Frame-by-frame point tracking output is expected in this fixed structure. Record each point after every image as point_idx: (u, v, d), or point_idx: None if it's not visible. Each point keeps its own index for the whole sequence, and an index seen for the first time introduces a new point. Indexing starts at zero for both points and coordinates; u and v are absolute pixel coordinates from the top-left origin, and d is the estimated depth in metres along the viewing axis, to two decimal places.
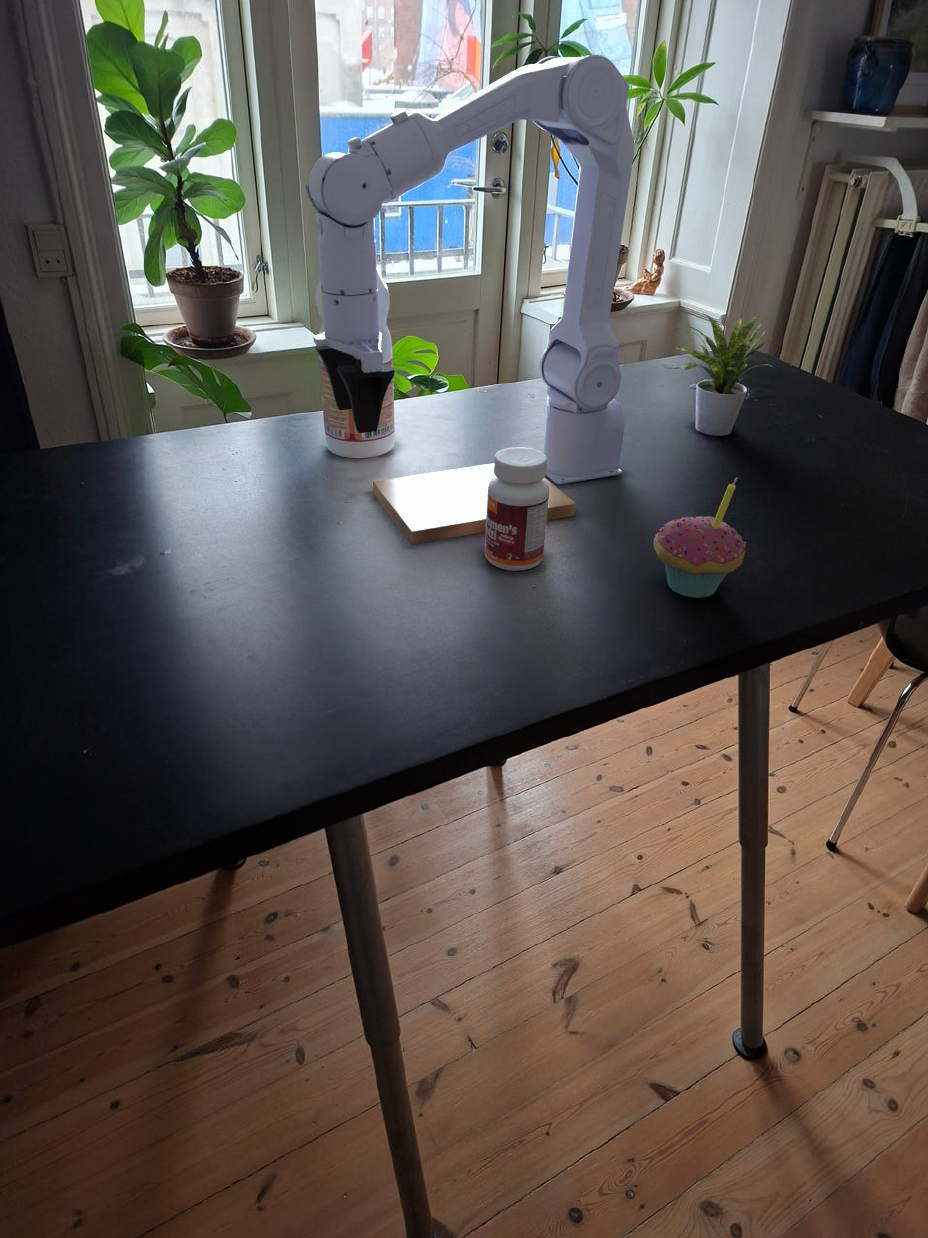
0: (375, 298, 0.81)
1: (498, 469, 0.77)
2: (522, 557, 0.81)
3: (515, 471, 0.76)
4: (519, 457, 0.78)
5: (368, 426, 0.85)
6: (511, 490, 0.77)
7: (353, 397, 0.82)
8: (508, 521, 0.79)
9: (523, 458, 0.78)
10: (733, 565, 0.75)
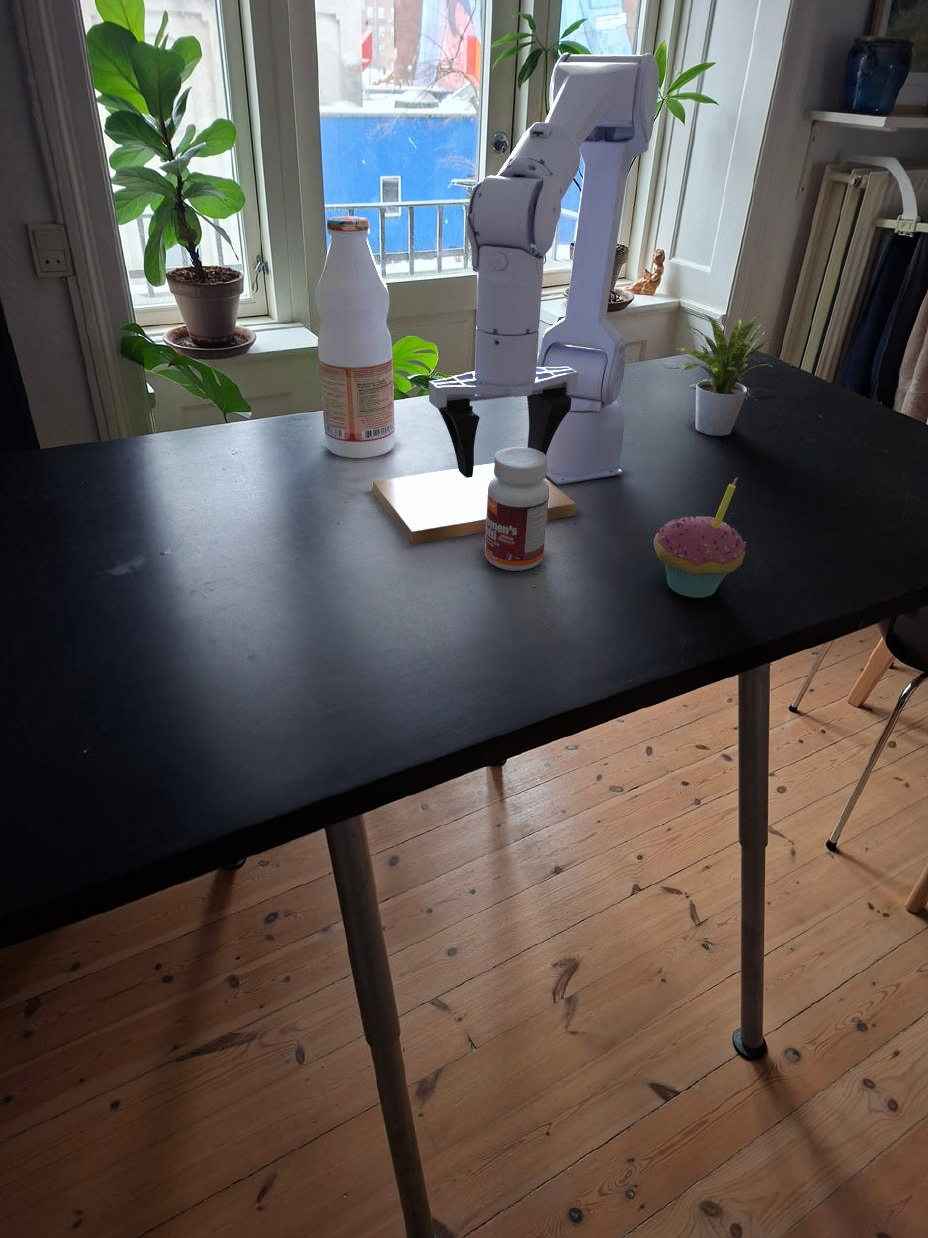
0: None
1: (498, 470, 0.77)
2: (522, 558, 0.81)
3: (516, 472, 0.76)
4: (519, 458, 0.77)
5: None
6: (511, 491, 0.77)
7: (557, 427, 0.78)
8: (508, 522, 0.79)
9: (524, 458, 0.77)
10: (733, 565, 0.75)
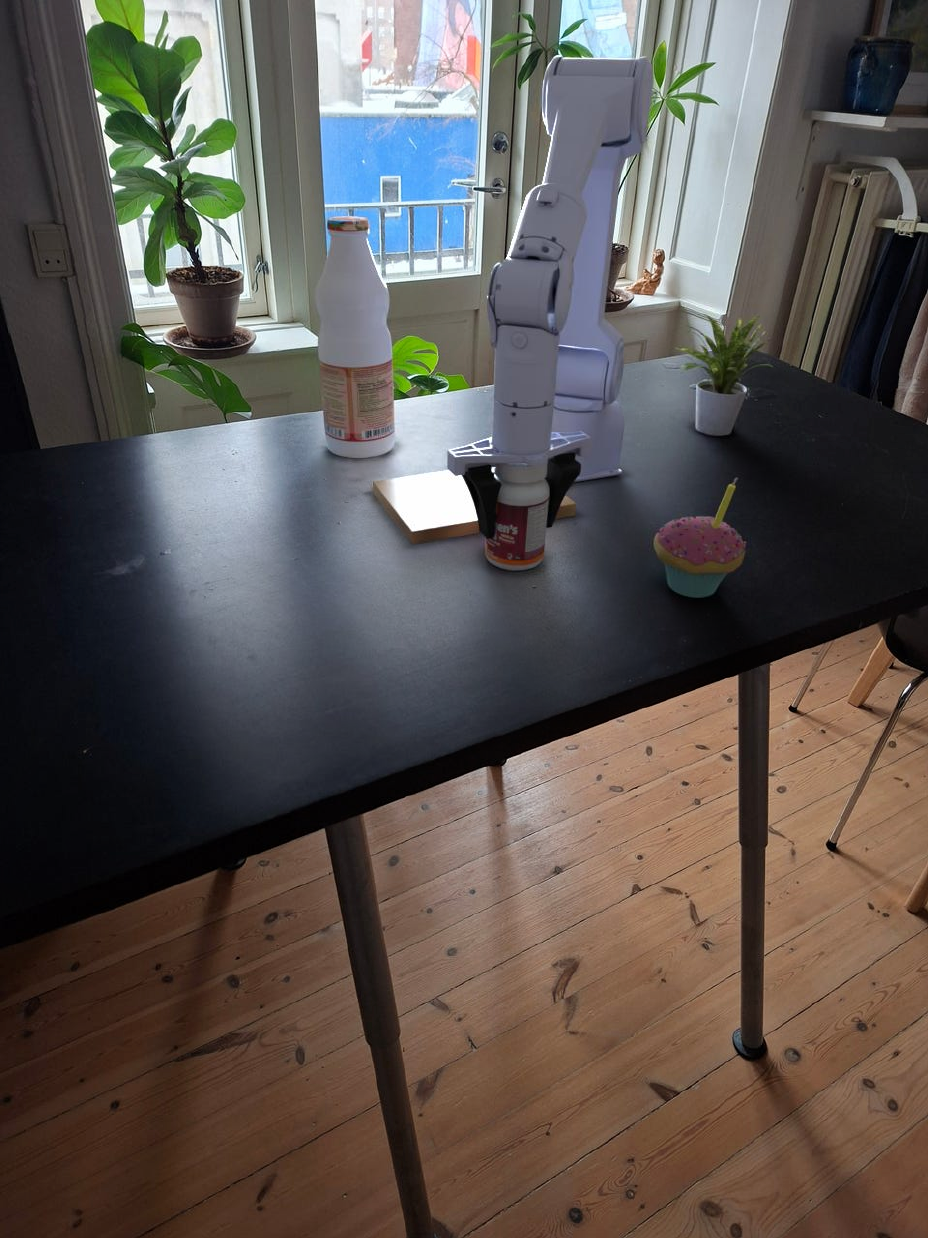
0: None
1: (499, 469, 0.77)
2: (522, 557, 0.81)
3: (516, 471, 0.76)
4: None
5: None
6: (512, 490, 0.77)
7: (567, 490, 0.80)
8: (508, 521, 0.79)
9: None
10: (733, 565, 0.75)
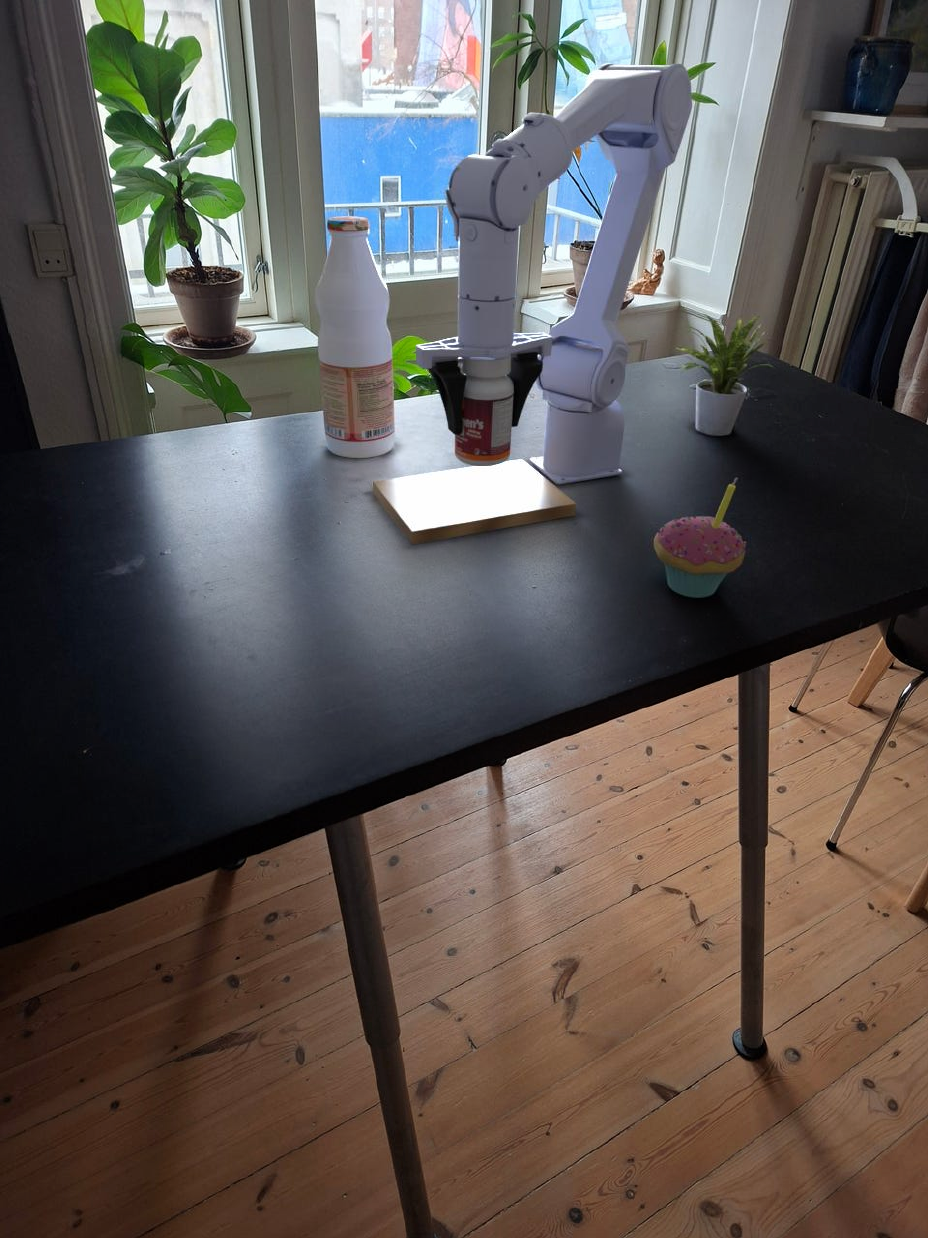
0: None
1: (465, 365, 0.82)
2: (489, 452, 0.86)
3: (481, 365, 0.81)
4: None
5: None
6: (477, 385, 0.82)
7: (530, 388, 0.85)
8: (474, 416, 0.83)
9: None
10: (733, 565, 0.75)
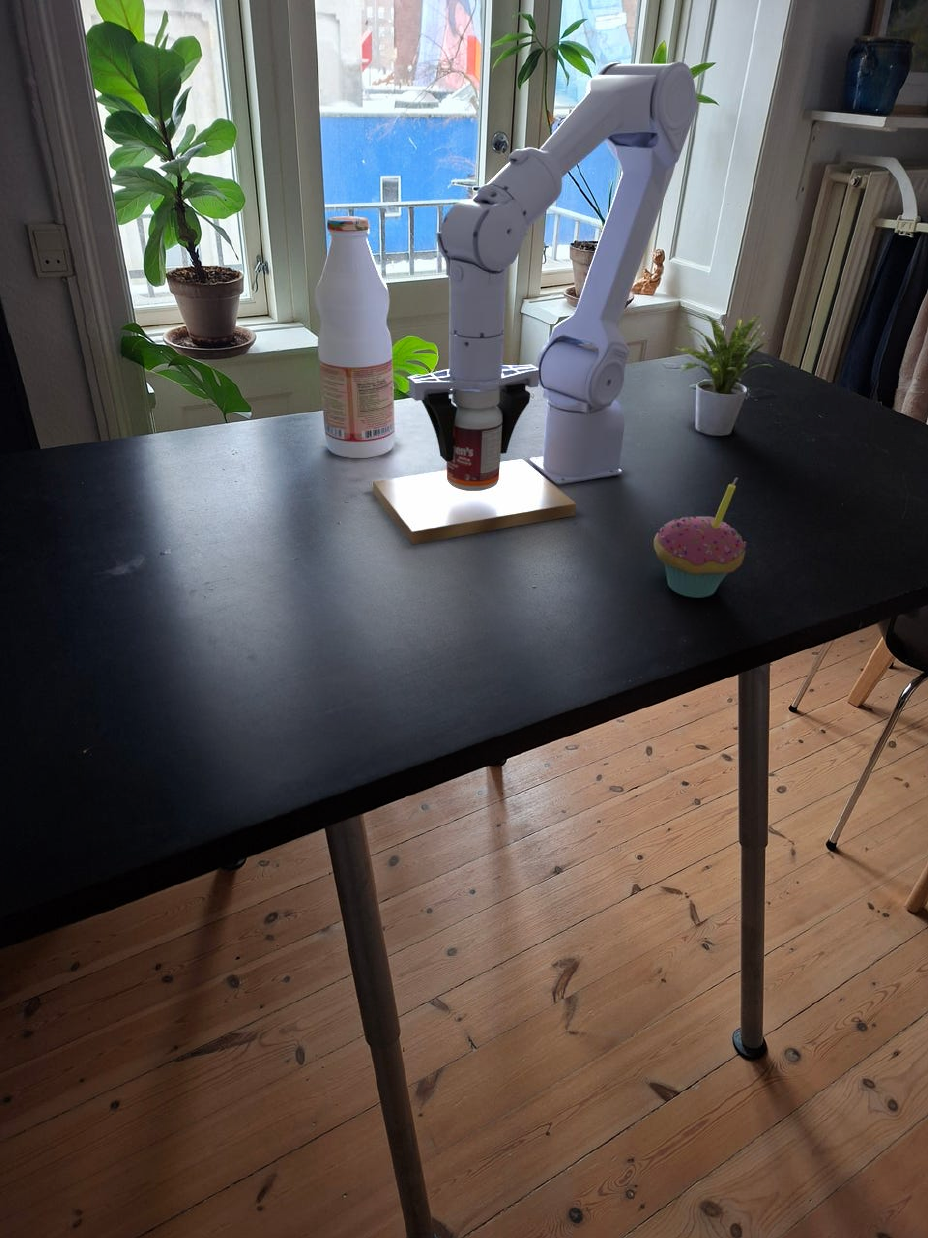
0: None
1: (456, 396, 0.86)
2: (478, 478, 0.90)
3: (470, 396, 0.85)
4: None
5: None
6: (467, 415, 0.86)
7: (518, 418, 0.89)
8: (465, 444, 0.88)
9: None
10: (733, 565, 0.75)
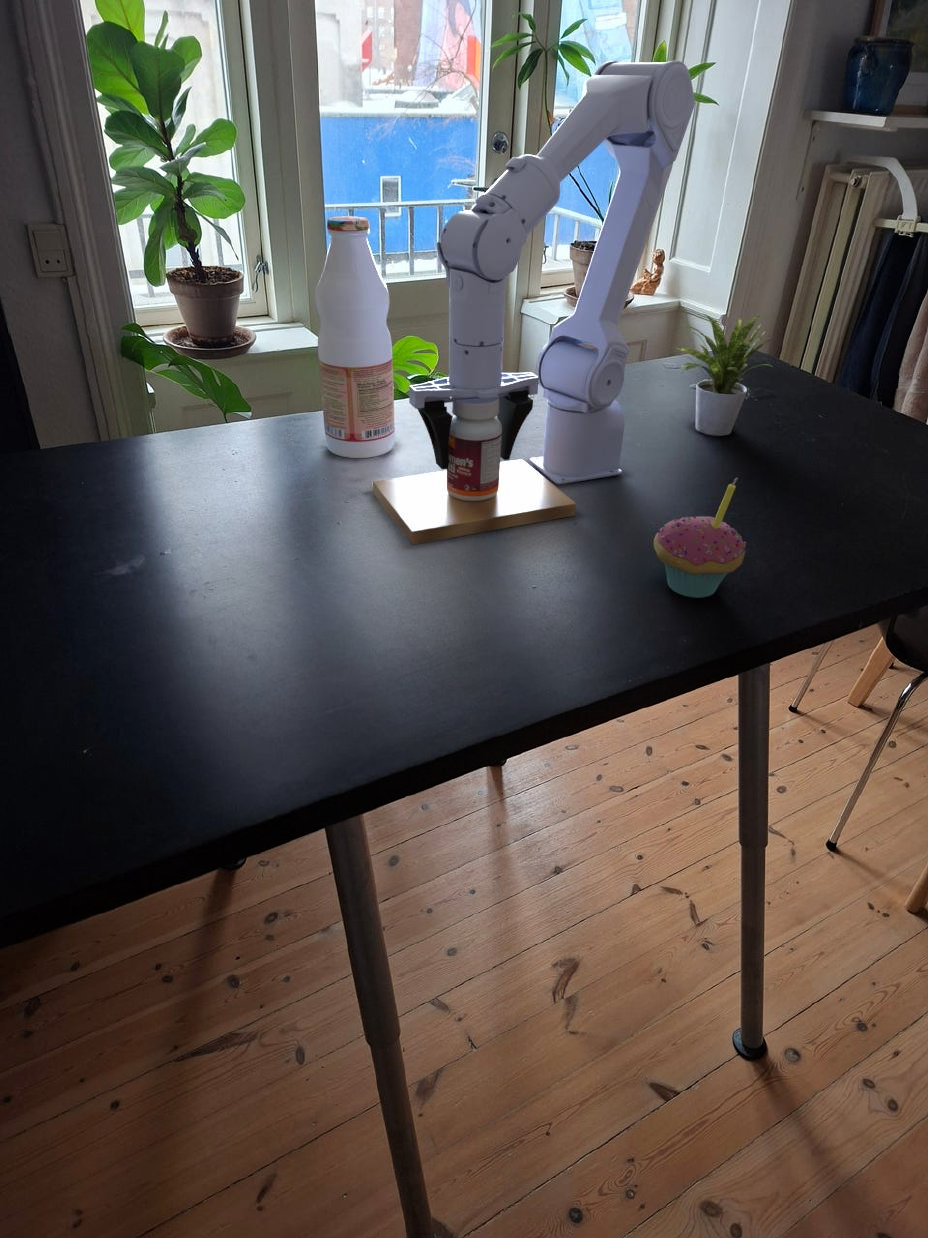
0: None
1: (456, 407, 0.87)
2: (478, 489, 0.91)
3: (470, 408, 0.86)
4: None
5: None
6: (467, 426, 0.87)
7: (521, 424, 0.90)
8: (464, 455, 0.88)
9: (478, 398, 0.88)
10: (733, 565, 0.75)
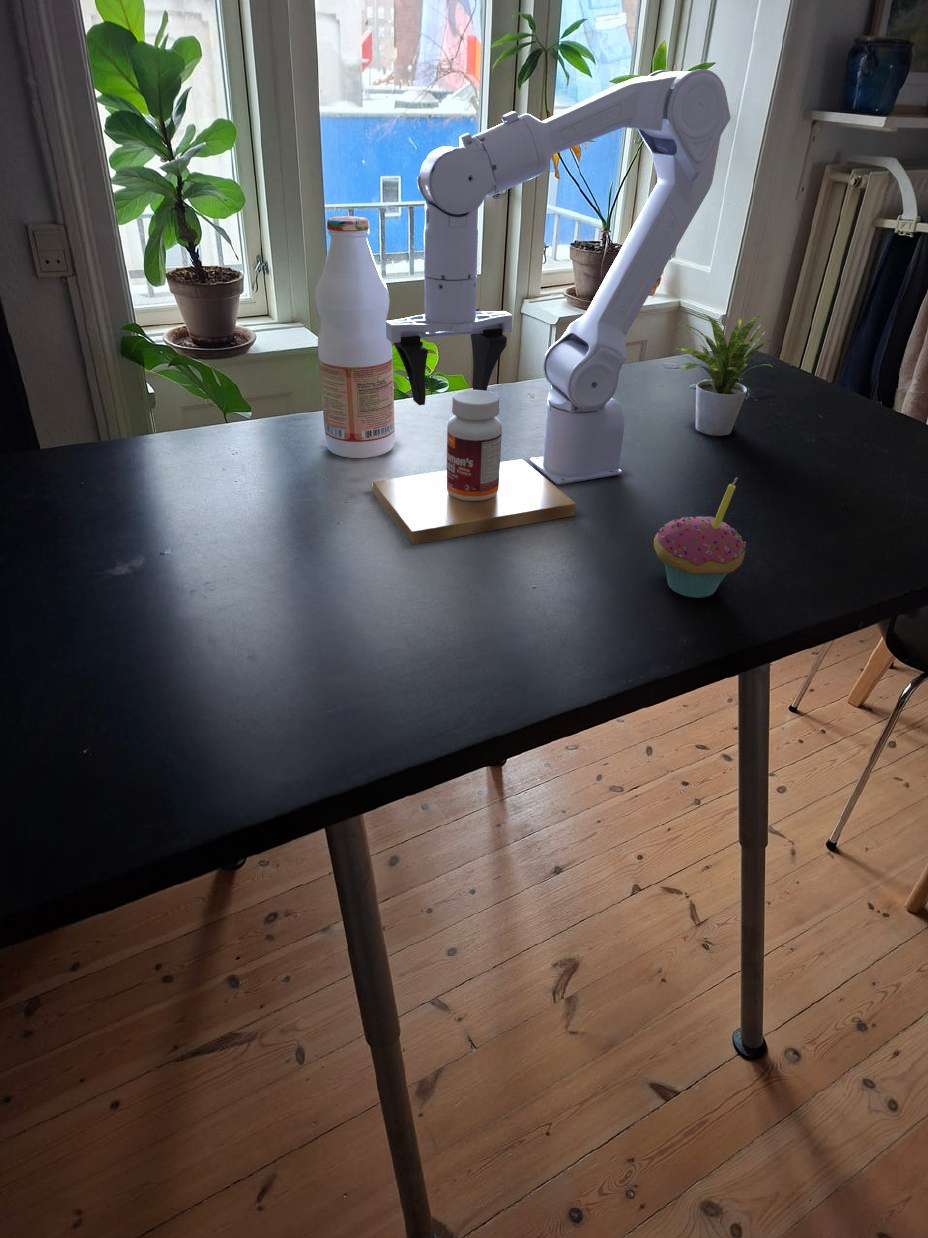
0: None
1: (456, 407, 0.87)
2: (478, 489, 0.91)
3: (470, 408, 0.86)
4: (474, 397, 0.88)
5: None
6: (467, 426, 0.87)
7: None
8: (464, 455, 0.88)
9: (478, 398, 0.87)
10: (733, 565, 0.75)
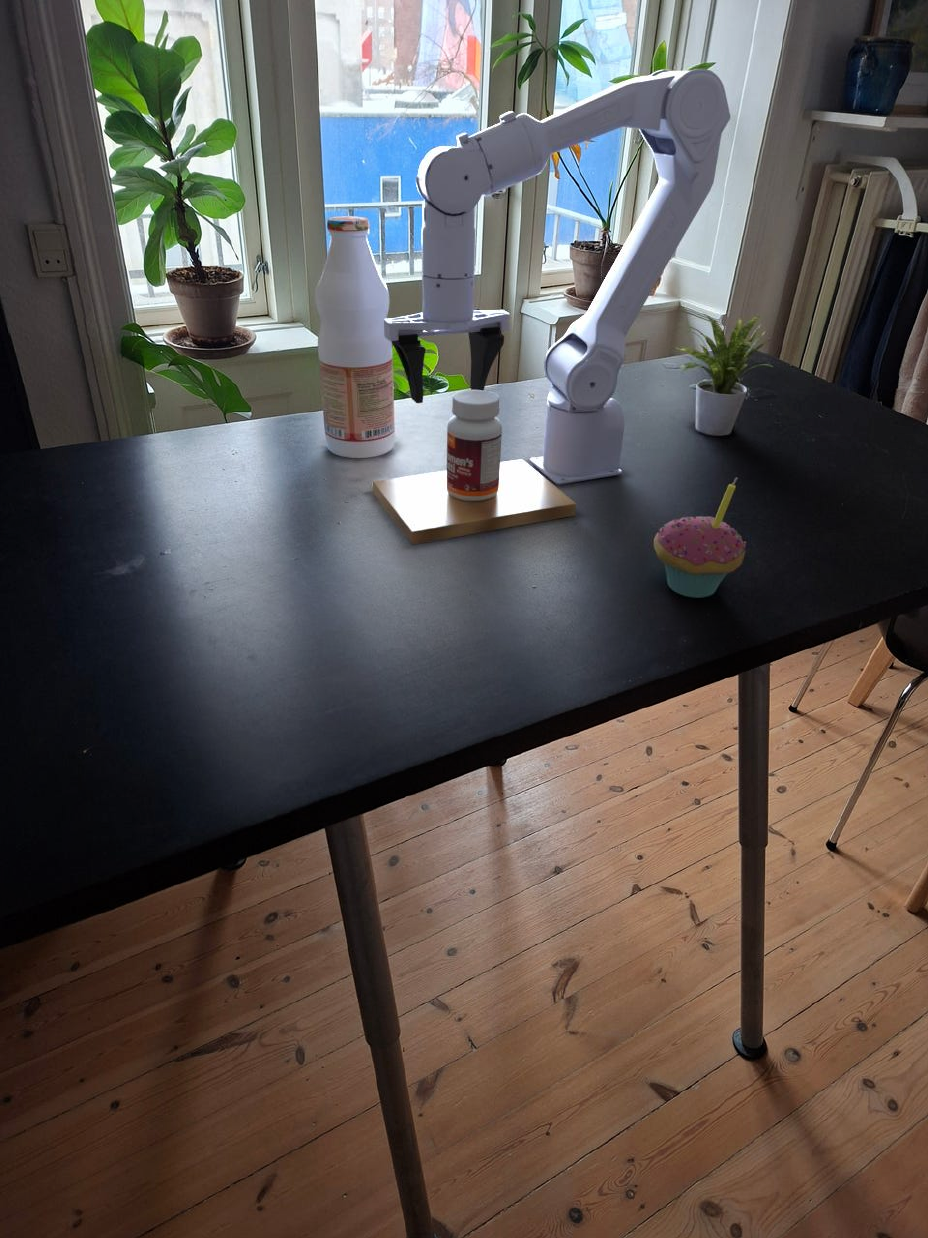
0: None
1: (456, 407, 0.87)
2: (478, 489, 0.91)
3: (470, 408, 0.86)
4: (474, 397, 0.88)
5: None
6: (467, 426, 0.87)
7: (493, 360, 0.93)
8: (464, 455, 0.88)
9: (478, 398, 0.87)
10: (733, 565, 0.75)
